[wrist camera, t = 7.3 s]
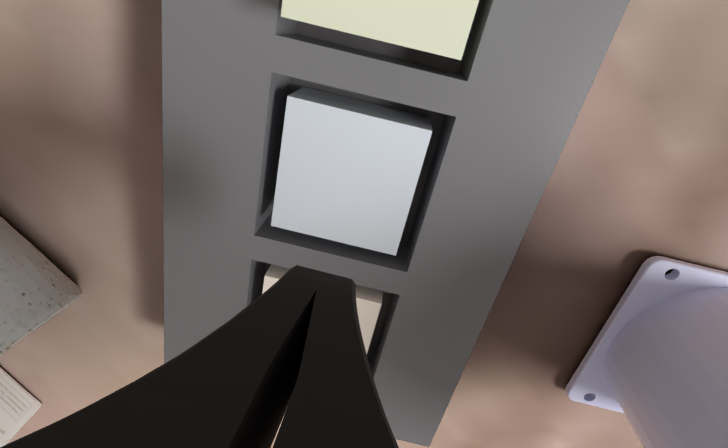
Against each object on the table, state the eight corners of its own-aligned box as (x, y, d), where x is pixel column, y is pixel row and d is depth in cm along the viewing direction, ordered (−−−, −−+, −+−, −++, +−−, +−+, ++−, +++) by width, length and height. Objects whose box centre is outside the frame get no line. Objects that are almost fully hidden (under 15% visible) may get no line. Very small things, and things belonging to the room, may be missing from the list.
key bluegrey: (429, 117, 14) (432, 131, 12) (397, 229, 16) (395, 255, 14) (303, 86, 14) (287, 96, 12) (286, 203, 16) (270, 225, 14)
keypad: (848, -646, 8) (1076, -995, 5) (426, 392, 21) (428, 447, 18) (240, -797, 8) (150, -1232, 5) (196, 337, 21) (164, 383, 18)
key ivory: (384, 274, 17) (381, 303, 15) (362, 352, 19) (356, 386, 17) (280, 248, 17) (264, 275, 15) (268, 330, 19) (253, 362, 17)
